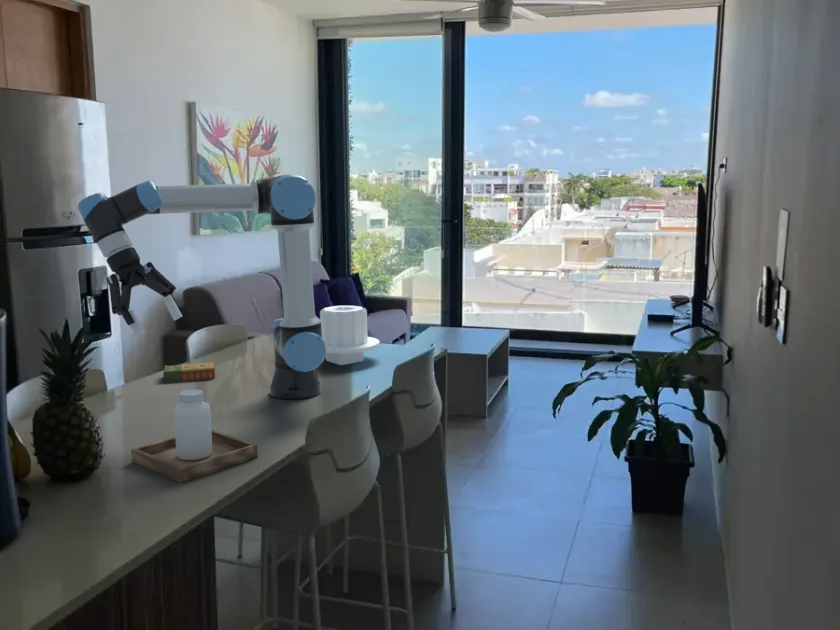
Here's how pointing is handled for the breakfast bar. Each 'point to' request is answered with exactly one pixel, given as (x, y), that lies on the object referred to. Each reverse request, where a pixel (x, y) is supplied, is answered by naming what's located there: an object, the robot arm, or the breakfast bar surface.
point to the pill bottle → (192, 426)
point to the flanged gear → (346, 334)
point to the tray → (168, 464)
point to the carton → (189, 372)
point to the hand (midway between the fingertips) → (160, 326)
